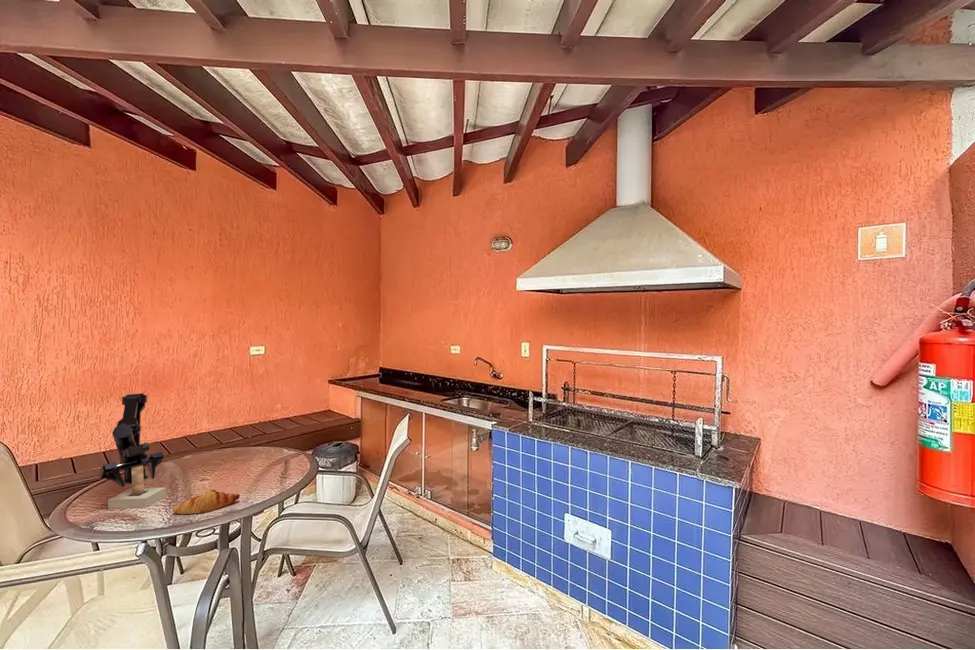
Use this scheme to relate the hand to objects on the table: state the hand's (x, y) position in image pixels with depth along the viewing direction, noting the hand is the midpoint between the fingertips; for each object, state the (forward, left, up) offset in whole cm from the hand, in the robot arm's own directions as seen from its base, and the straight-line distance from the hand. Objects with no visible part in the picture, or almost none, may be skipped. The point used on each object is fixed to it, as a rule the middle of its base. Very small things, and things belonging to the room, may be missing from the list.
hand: (139, 482), depth 157 cm
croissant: (+30, -6, -9) cm, 32 cm away
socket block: (-1, +1, -8) cm, 8 cm away
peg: (-1, +1, -8) cm, 8 cm away
